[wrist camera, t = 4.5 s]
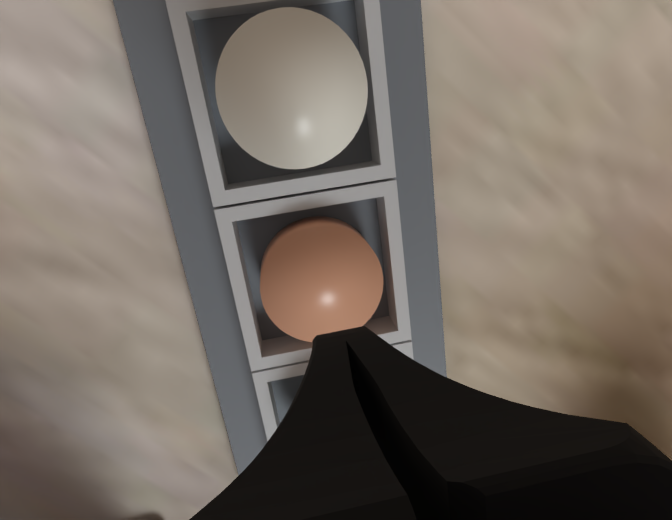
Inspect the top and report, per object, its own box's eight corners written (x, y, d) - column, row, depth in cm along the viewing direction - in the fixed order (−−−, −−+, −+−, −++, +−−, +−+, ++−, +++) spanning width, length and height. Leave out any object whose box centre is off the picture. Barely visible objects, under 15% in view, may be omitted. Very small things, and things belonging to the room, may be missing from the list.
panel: (245, 484, 22) (243, 523, 20) (116, -10, 15) (92, -29, 13) (445, 440, 23) (463, 473, 21) (409, -46, 16) (431, -69, 14)
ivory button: (236, 173, 15) (233, 180, 14) (206, 28, 14) (198, 17, 12) (364, 152, 16) (375, 157, 14) (348, 9, 14) (358, -3, 13)
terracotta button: (272, 332, 18) (272, 352, 17) (249, 227, 17) (248, 238, 15) (379, 312, 19) (389, 329, 17) (366, 207, 17) (376, 216, 16)
